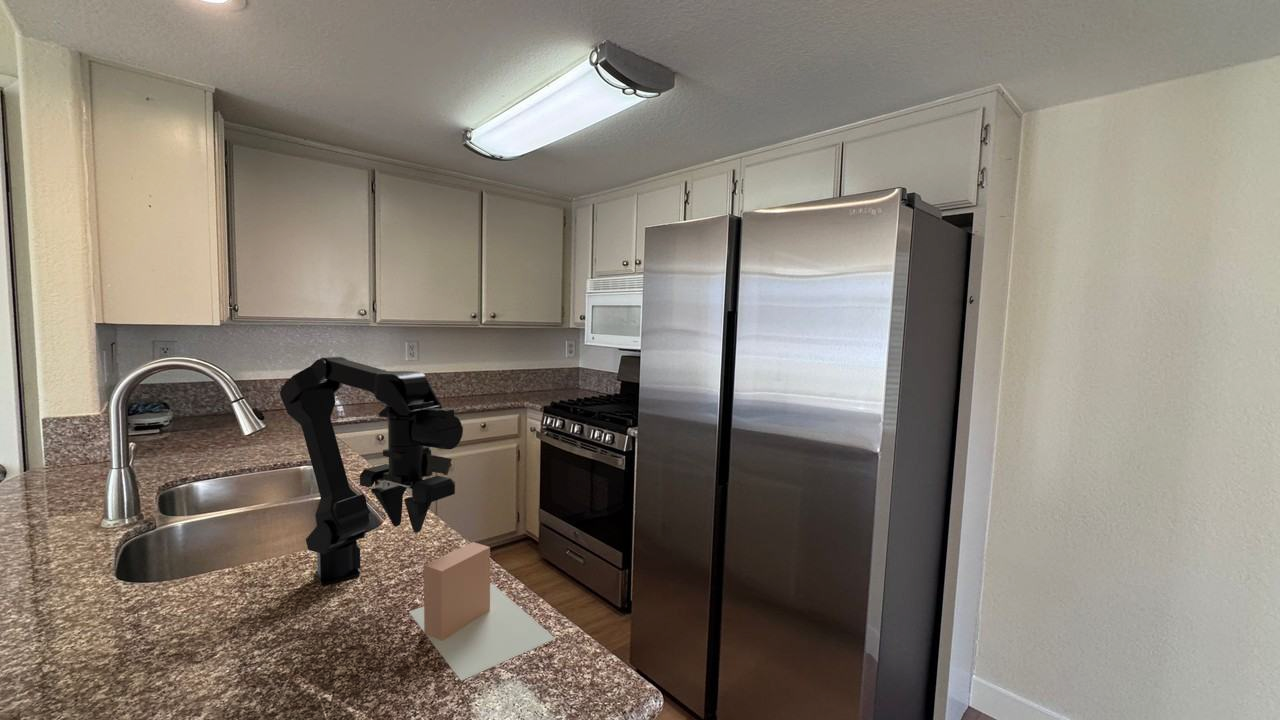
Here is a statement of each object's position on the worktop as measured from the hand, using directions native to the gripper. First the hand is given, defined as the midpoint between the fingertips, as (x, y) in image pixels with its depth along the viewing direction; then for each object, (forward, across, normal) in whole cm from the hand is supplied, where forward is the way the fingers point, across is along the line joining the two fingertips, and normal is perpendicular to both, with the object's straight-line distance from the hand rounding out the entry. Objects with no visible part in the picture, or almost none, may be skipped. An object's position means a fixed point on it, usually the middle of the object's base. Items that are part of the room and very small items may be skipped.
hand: (407, 529), depth 93 cm
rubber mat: (+12, -19, +1) cm, 22 cm away
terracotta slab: (+12, -15, +2) cm, 19 cm away
